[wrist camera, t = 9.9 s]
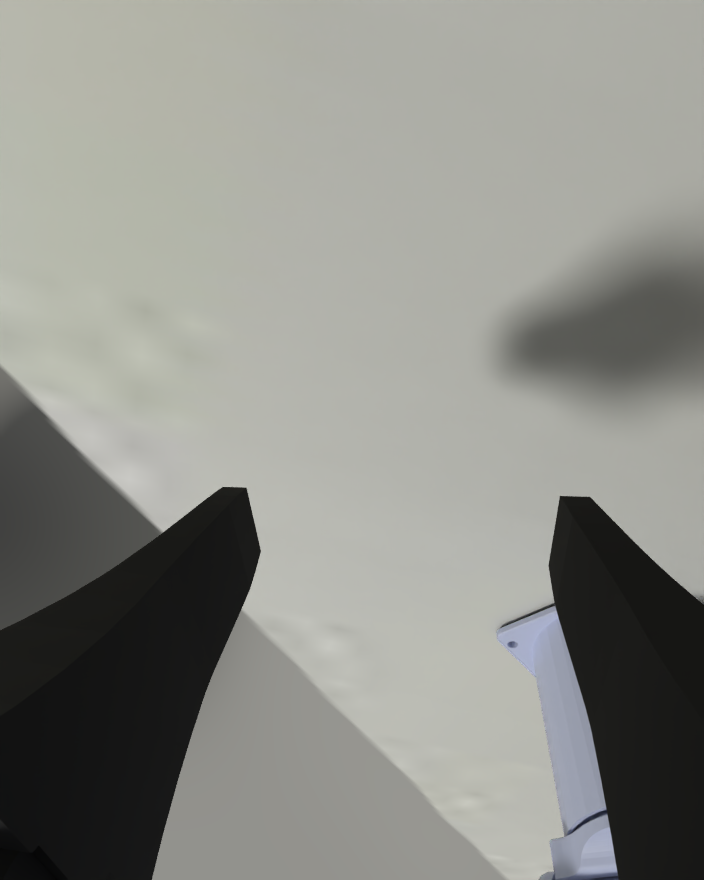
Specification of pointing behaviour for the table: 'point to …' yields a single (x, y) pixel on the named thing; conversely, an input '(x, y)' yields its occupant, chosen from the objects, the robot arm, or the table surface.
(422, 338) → the table surface
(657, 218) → the table surface
